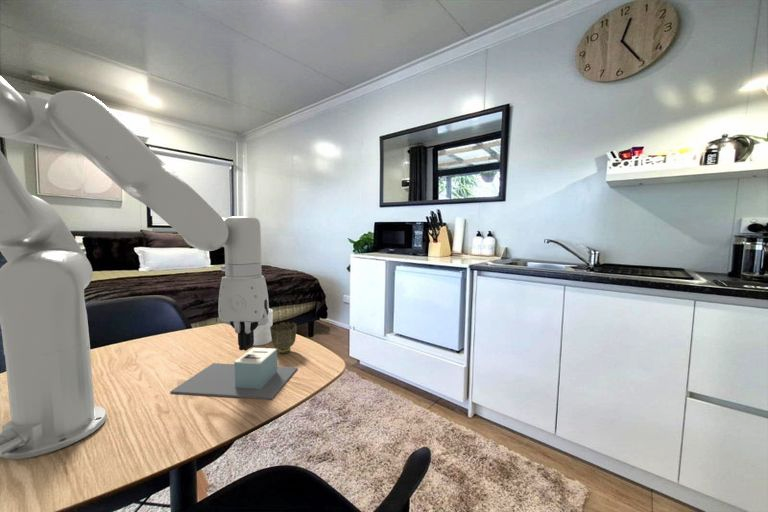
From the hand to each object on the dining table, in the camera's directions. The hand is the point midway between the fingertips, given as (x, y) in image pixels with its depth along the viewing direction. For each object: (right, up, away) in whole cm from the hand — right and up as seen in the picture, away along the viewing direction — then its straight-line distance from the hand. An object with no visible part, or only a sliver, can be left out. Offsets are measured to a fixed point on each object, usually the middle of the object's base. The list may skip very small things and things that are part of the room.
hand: (246, 348), depth 70 cm
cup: (+3, -7, +17) cm, 19 cm away
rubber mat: (-2, -8, +1) cm, 8 cm away
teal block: (+2, -2, 0) cm, 3 cm away
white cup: (-7, -6, +25) cm, 27 cm away
